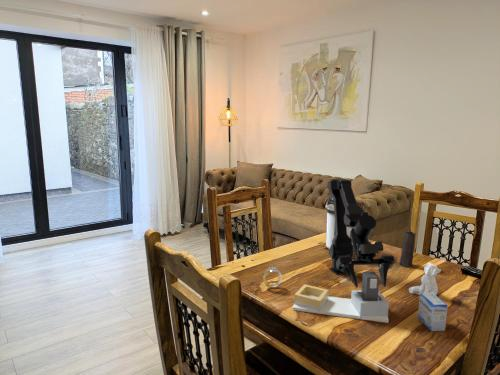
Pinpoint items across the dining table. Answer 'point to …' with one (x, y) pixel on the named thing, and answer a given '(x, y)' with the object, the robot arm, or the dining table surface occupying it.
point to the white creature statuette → (427, 281)
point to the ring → (270, 272)
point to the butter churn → (408, 246)
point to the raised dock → (369, 305)
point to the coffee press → (332, 223)
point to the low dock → (311, 297)
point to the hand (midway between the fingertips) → (371, 286)
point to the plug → (370, 286)
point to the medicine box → (432, 311)
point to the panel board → (340, 310)
